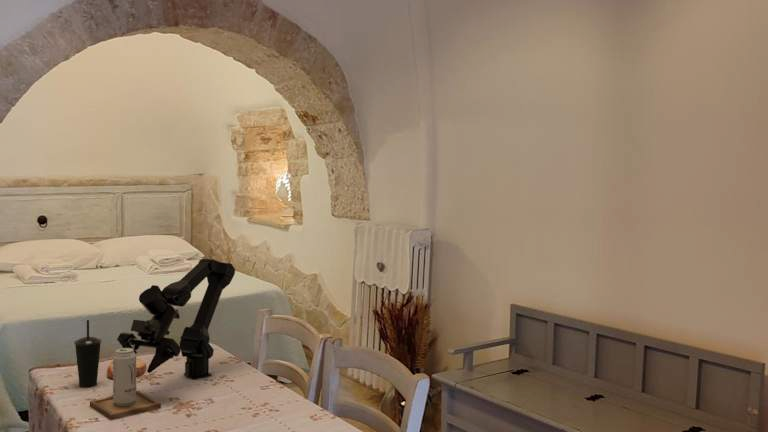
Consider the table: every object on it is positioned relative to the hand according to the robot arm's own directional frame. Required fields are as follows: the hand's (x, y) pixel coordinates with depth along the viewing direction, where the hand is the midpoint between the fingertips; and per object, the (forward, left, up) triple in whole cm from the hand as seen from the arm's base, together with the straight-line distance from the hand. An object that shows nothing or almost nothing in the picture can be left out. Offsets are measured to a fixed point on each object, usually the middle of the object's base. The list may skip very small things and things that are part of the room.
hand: (134, 370), depth 196 cm
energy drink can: (+4, +1, -9) cm, 9 cm away
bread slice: (-11, -32, -10) cm, 36 cm away
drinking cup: (+4, -24, -10) cm, 26 cm away
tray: (+4, +2, -9) cm, 10 cm away
